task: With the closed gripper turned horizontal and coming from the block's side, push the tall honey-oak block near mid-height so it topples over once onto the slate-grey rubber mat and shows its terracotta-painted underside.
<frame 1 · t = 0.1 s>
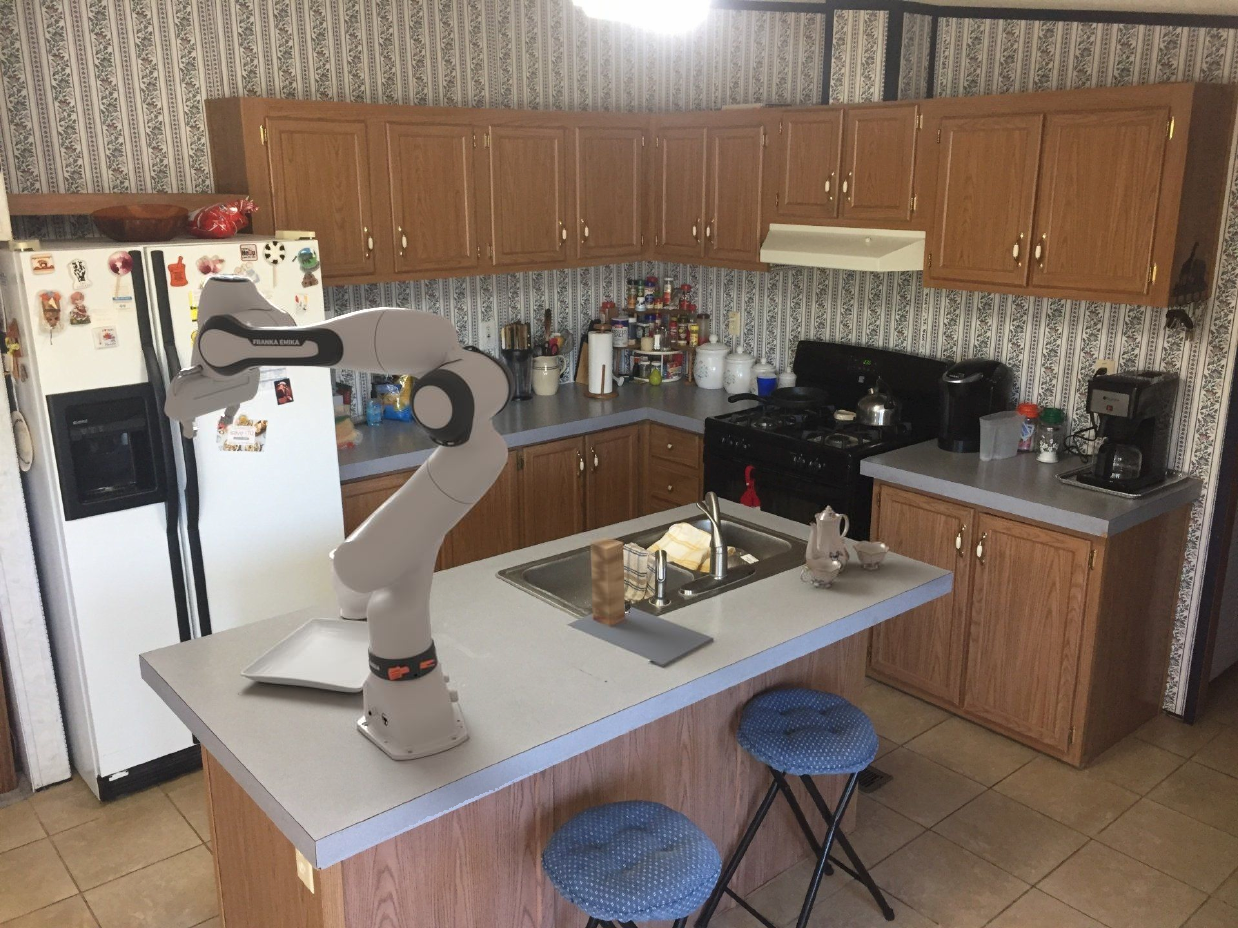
hand: (208, 430, 187), 52 cm above the countertop, tool tilted 20°, fingers open, 8 cm apart
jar: (359, 613, 233), on the countertop
square plate: (336, 665, 210), on the countertop
chinaware: (835, 572, 249), on the countertop
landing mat: (638, 633, 219), on the countertop
oak block: (609, 619, 225), point 1 cm above the countertop, touching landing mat
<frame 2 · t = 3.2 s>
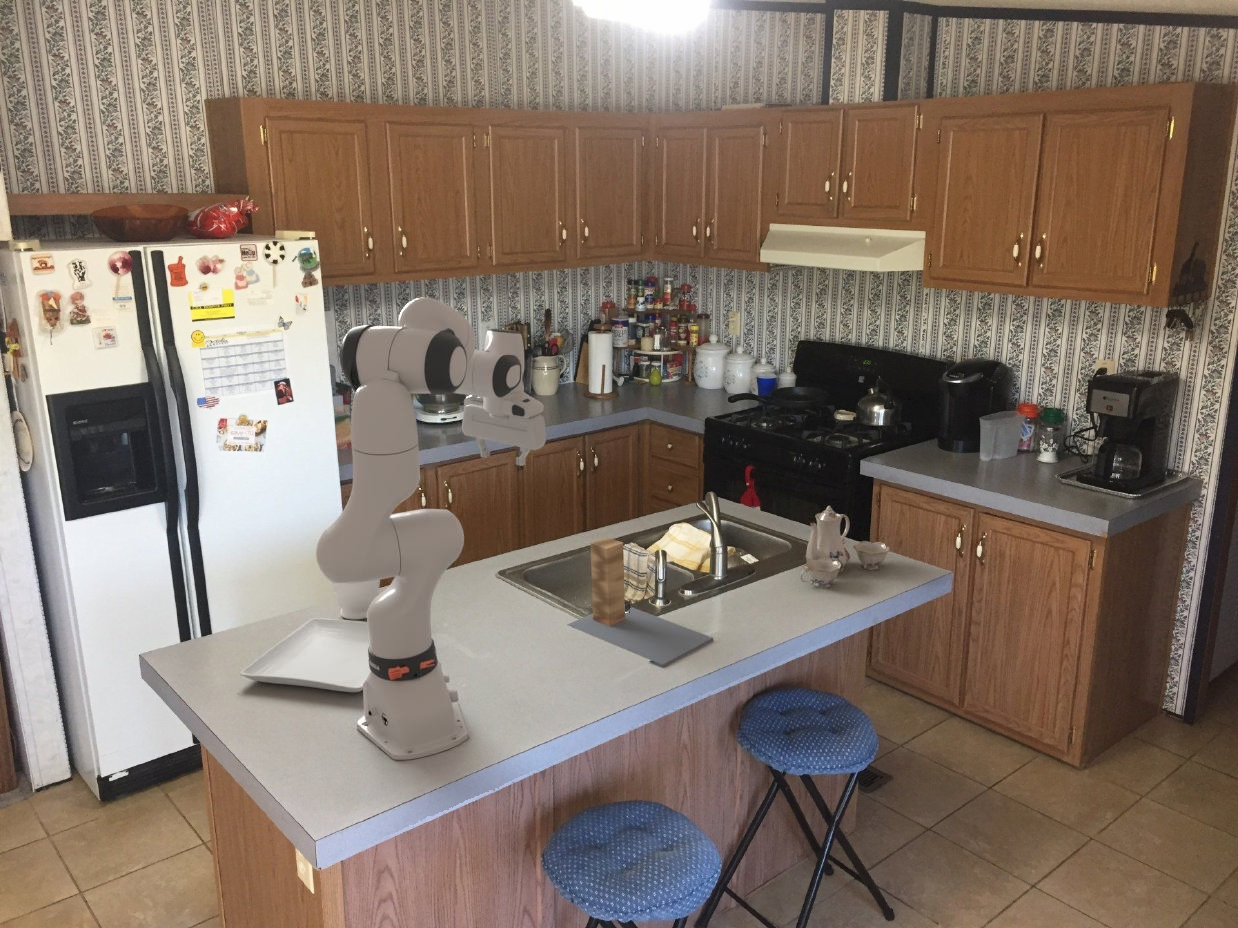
hand: (502, 460, 228), 34 cm above the countertop, tool pointing down, fingers open, 8 cm apart
nothing on the countertop moved.
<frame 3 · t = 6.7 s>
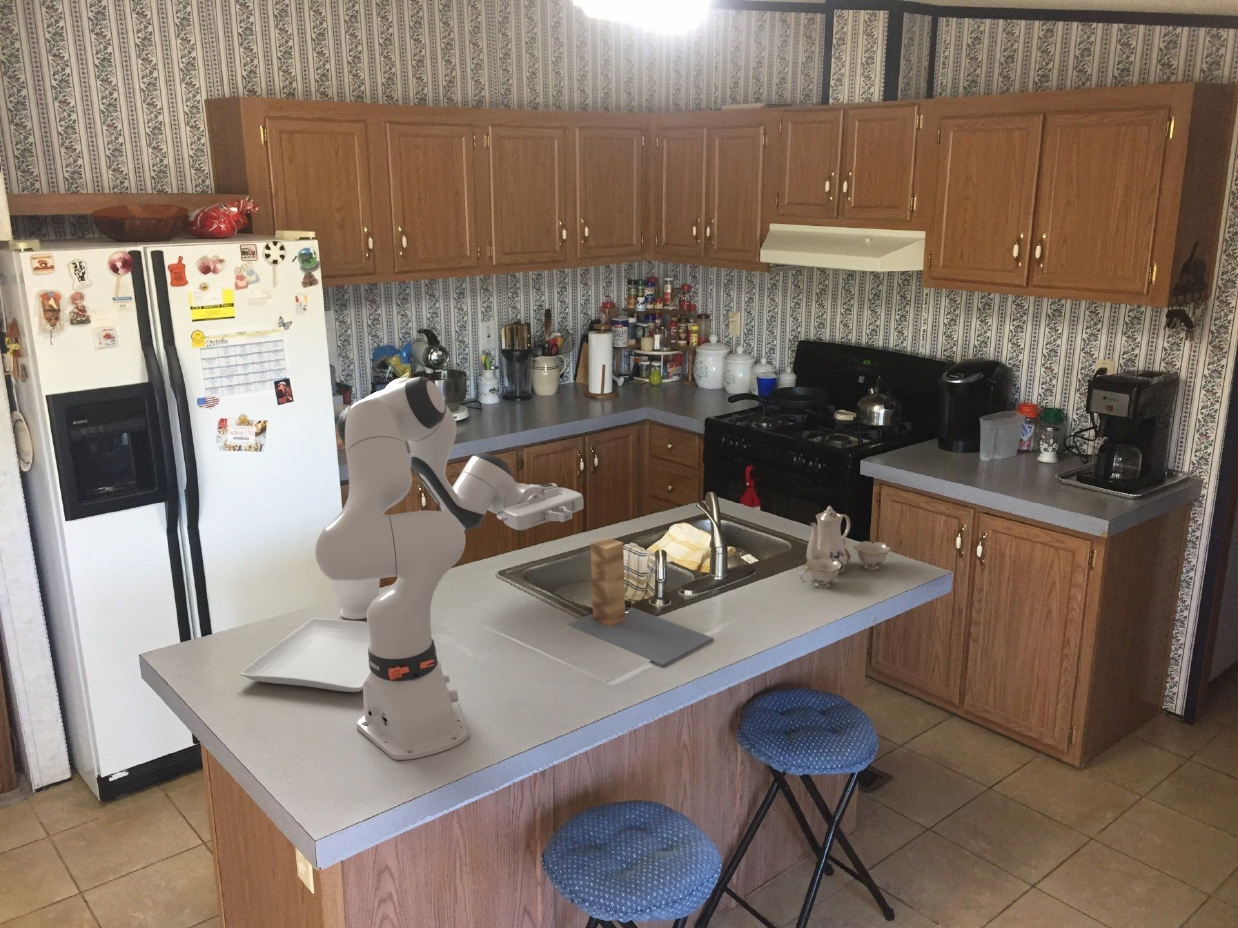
hand: (567, 517, 227), 22 cm above the countertop, tool horizontal, fingers closed
nothing on the countertop moved.
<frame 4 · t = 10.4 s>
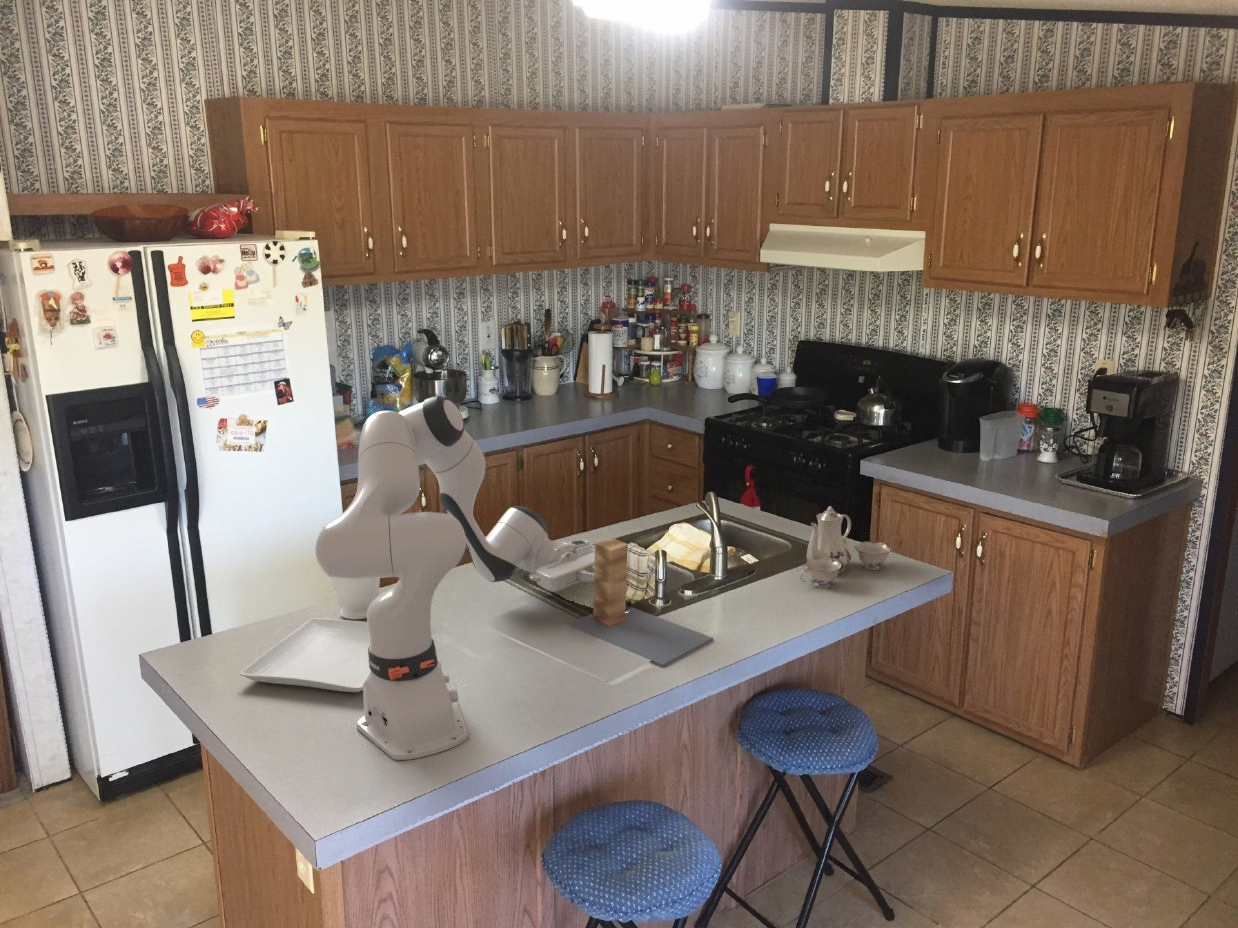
hand: (601, 577, 223), 10 cm above the countertop, tool horizontal, fingers closed
oak block: (609, 618, 225), point 1 cm above the countertop, touching gripper, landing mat
everything else where it was.
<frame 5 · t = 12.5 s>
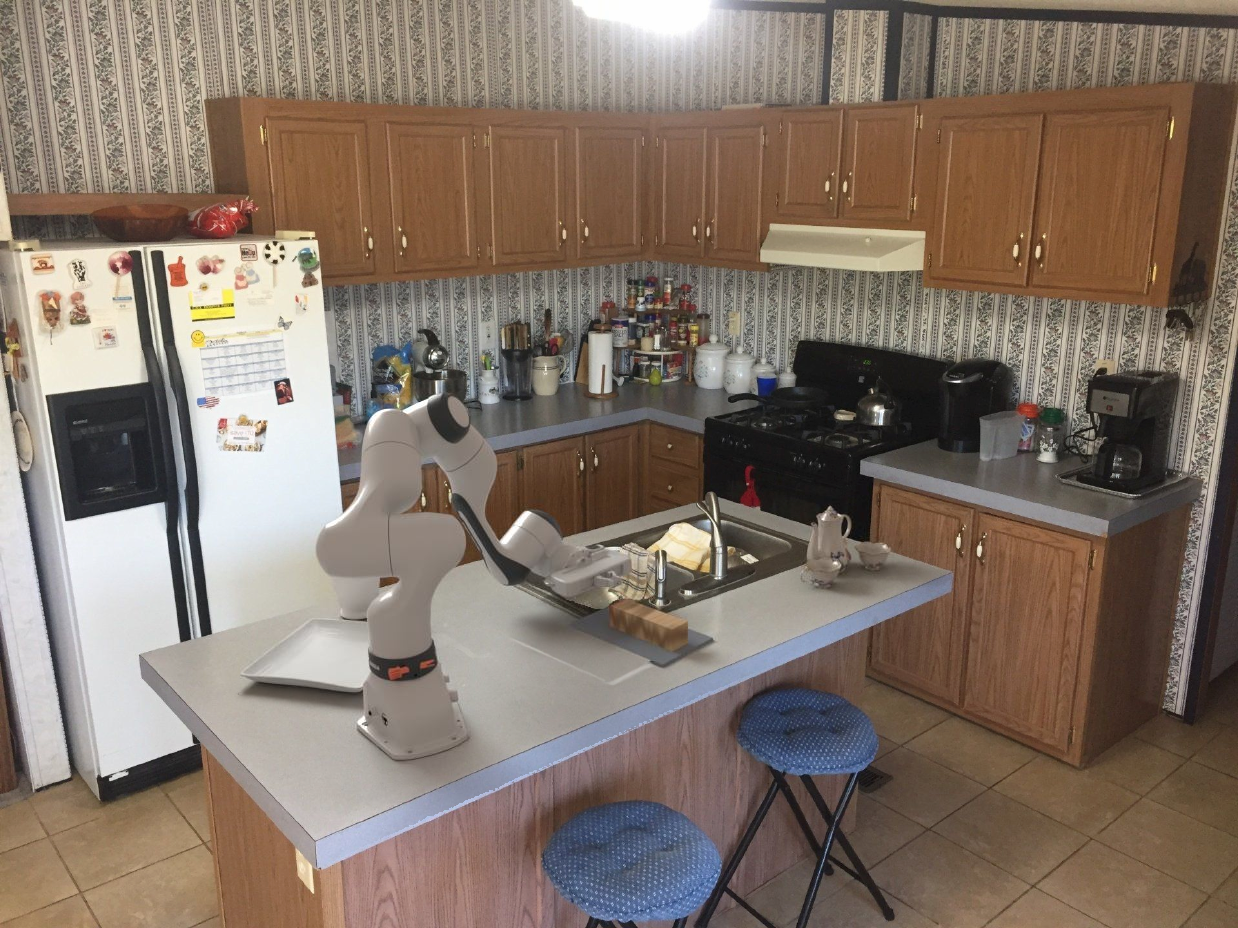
hand: (617, 583, 220), 10 cm above the countertop, tool horizontal, fingers closed
oak block: (617, 612, 222), point 3 cm above the countertop, tilted 90°, touching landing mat
everything else where it was.
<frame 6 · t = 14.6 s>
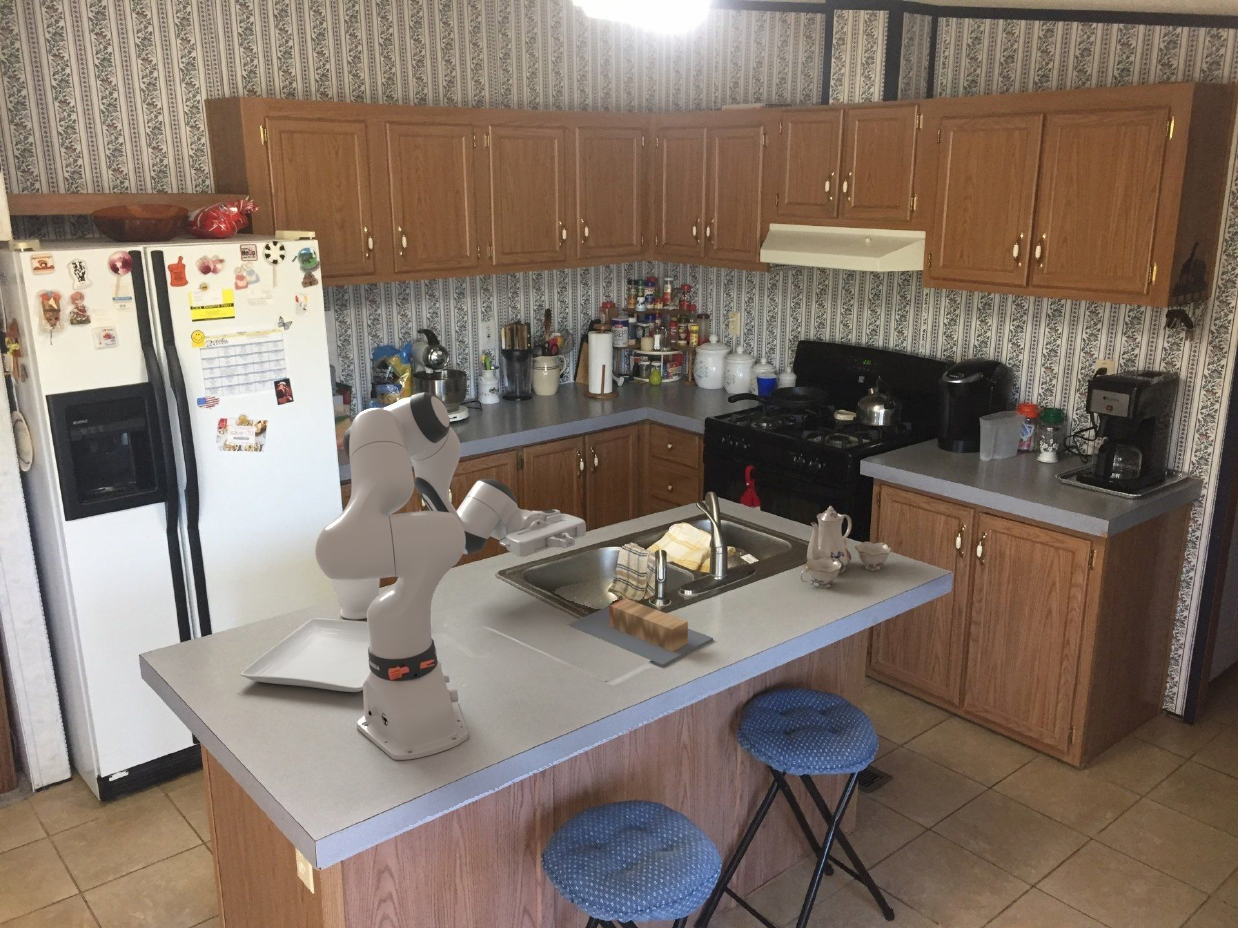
hand: (570, 543, 228), 16 cm above the countertop, tool horizontal, fingers closed
nothing on the countertop moved.
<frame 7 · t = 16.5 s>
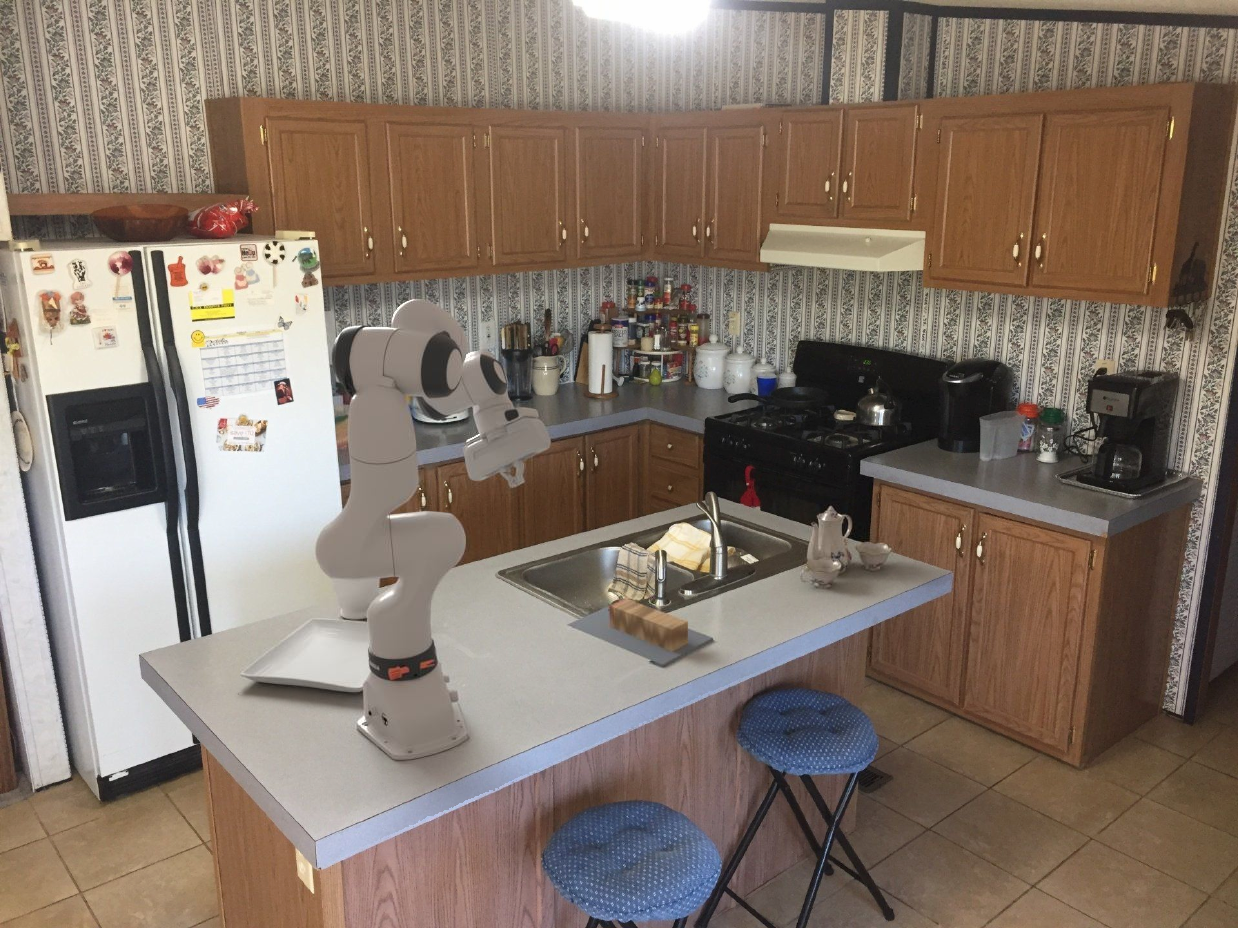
hand: (517, 485, 214), 33 cm above the countertop, tool tilted 35°, fingers closed
nothing on the countertop moved.
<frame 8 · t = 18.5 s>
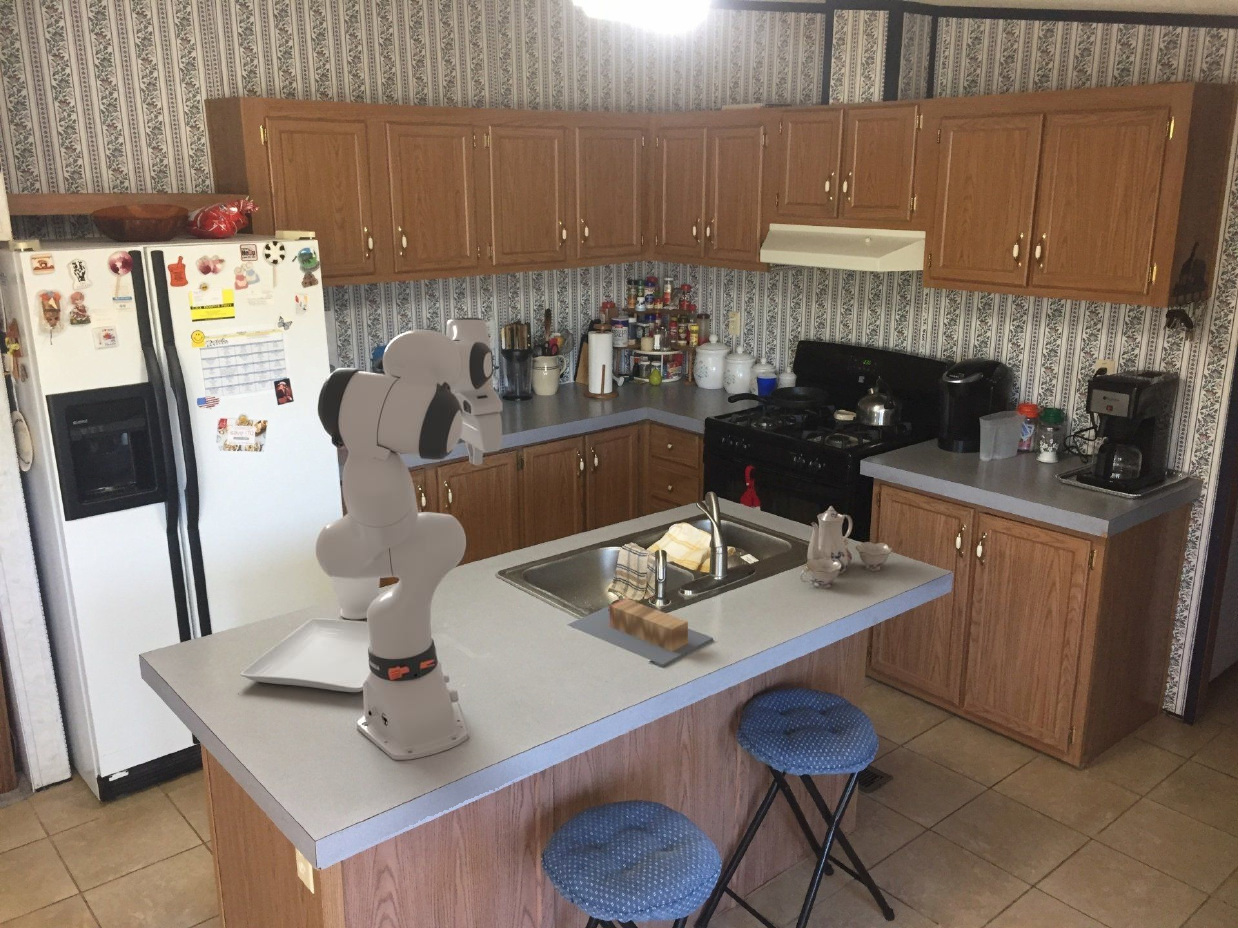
hand: (476, 463, 208), 39 cm above the countertop, tool pointing down, fingers closed
nothing on the countertop moved.
at the end: oak block tilted 90°; oak block touching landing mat; oak block moved 3.7 cm from its start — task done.
